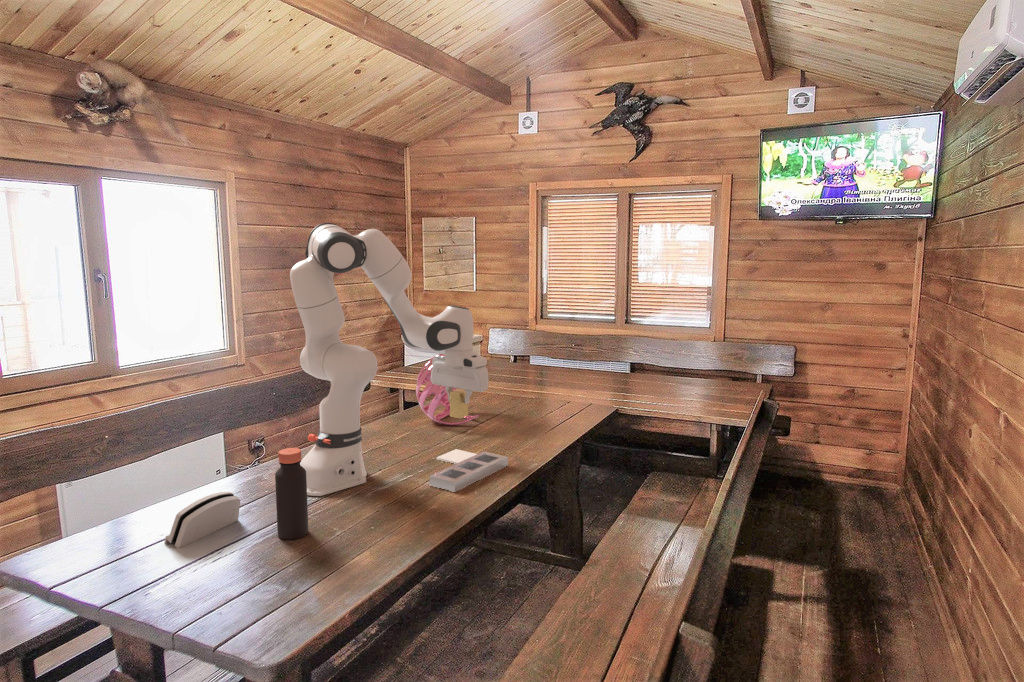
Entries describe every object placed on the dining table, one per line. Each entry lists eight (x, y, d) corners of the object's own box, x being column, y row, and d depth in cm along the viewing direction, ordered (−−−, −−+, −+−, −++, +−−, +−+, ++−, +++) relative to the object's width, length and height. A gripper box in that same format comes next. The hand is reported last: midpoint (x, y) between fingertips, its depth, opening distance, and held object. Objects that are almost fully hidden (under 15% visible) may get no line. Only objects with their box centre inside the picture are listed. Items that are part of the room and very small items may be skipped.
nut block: (460, 418, 200) (460, 393, 198) (450, 416, 202) (449, 391, 200) (468, 415, 203) (468, 390, 201) (458, 413, 205) (457, 389, 204)
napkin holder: (224, 515, 160) (232, 481, 157) (237, 525, 158) (245, 491, 155) (162, 543, 145) (170, 506, 142) (176, 554, 143) (184, 517, 140)
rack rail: (454, 493, 176) (454, 482, 176) (429, 485, 181) (429, 475, 181) (507, 466, 198) (507, 456, 197) (483, 460, 203) (483, 451, 202)
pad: (461, 466, 197) (461, 463, 197) (436, 459, 203) (436, 457, 203) (481, 457, 206) (481, 454, 206) (456, 451, 211) (456, 449, 211)
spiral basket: (514, 371, 243) (462, 327, 250) (470, 403, 222) (413, 354, 229) (488, 418, 260) (439, 376, 267) (444, 452, 239) (392, 405, 246)
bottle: (297, 525, 155) (294, 444, 152) (314, 533, 151) (311, 450, 148) (271, 534, 150) (268, 451, 147) (288, 543, 146) (284, 458, 143)
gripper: (426, 355, 202) (426, 398, 204) (479, 363, 191) (479, 408, 193) (439, 353, 207) (439, 395, 210) (491, 360, 196) (491, 404, 199)
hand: (458, 401), depth 201 cm, fingers closed on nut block, 4 cm apart
